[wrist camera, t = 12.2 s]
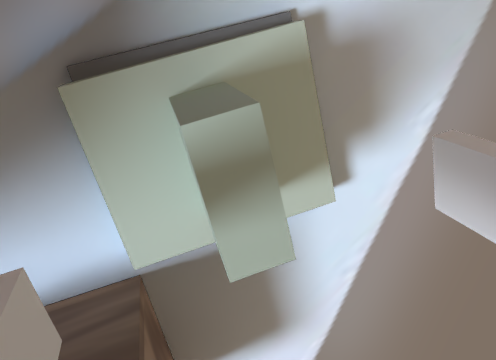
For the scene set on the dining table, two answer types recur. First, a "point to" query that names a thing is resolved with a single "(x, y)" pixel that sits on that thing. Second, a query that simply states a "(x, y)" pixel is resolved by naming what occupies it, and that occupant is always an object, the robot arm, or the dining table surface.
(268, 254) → the lid
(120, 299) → the crate
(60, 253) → the dining table surface
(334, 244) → the dining table surface
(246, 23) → the mat
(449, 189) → the robot arm
